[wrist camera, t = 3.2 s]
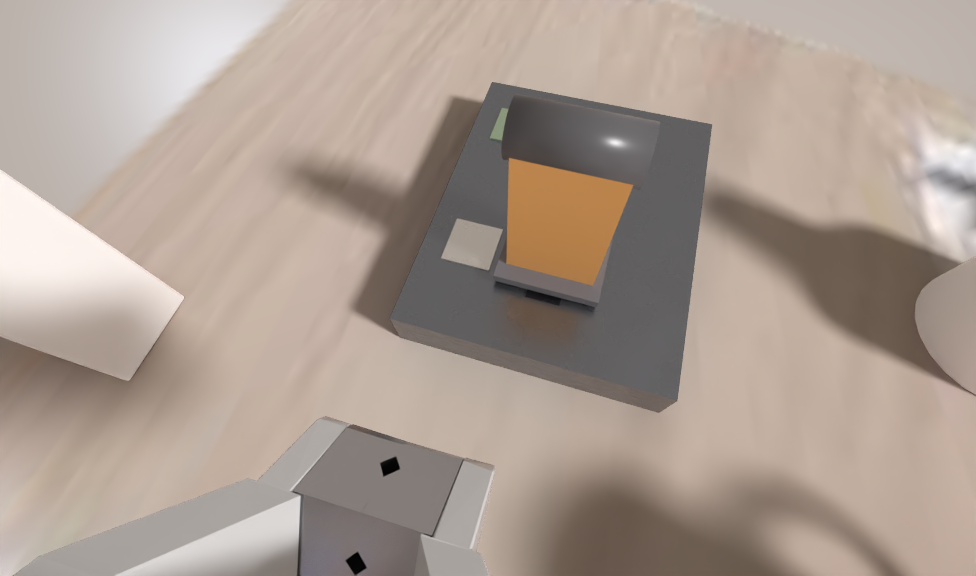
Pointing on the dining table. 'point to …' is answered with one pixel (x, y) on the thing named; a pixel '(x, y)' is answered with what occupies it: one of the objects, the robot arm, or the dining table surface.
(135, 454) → the dining table surface
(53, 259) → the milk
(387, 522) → the robot arm
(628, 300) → the grey slotted base
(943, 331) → the cylinder with rectangular tab
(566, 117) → the handle
